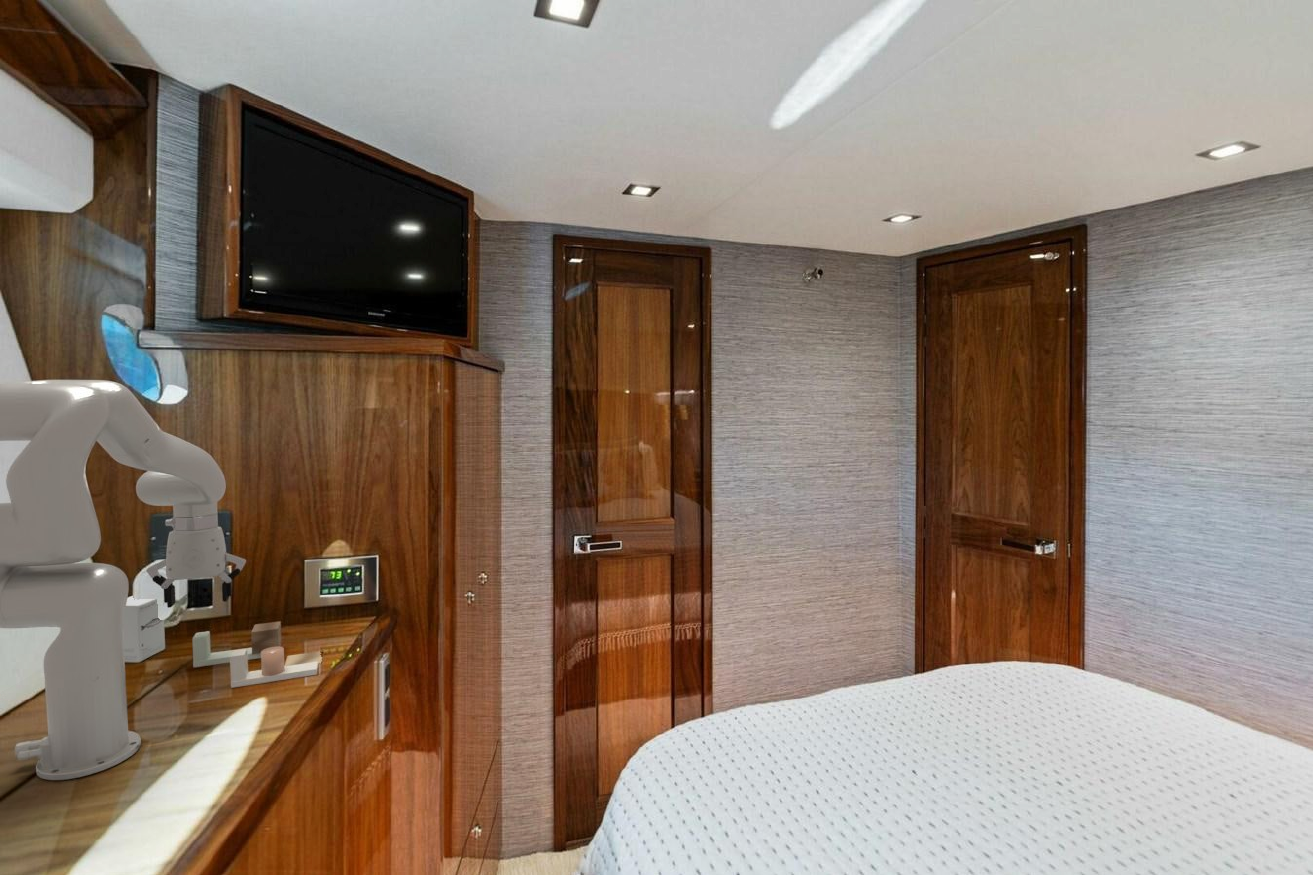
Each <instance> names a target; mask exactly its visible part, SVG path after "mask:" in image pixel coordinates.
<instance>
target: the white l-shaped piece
mask: <svg viewBox="0 0 1313 875" xmlns="http://www.w3.org/2000/svg"><path fill="white" fill-rule="evenodd" d="M191 640H192V658H193V660H192V661H193V662H192V663H193V665H192V667H193V668H201V667H205V666H207V667H208V666H213V665H221V664H230V656H231V654H232V652H233V650H234V649H231V650H225V651H217V652H216V651H215V652H211V649H212V648H211V632H210V630H207V631H201V632H200V631H199V632H198V631H197V632H195V634H194V635H193V637H192V639H191ZM238 649H239V648H237V649H236V650H238ZM244 649H246V648H244ZM247 654H248V661H250V660H256V659H261V654H253V655H252V647H247Z"/></svg>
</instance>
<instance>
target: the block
mask: <svg viewBox="0 0 1313 875" xmlns="http://www.w3.org/2000/svg"><path fill="white" fill-rule="evenodd" d="M281 623H282V622H281V621H272V622H265V623H257V624H256V623H255V624H254V625H253V627H252V630H251V636H250V637H251V648H252V655H253V654H261V651H262V650H264V649H266V648H270V647H276V646H280V647H282V624H281Z"/></svg>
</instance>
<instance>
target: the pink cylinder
mask: <svg viewBox="0 0 1313 875" xmlns="http://www.w3.org/2000/svg"><path fill="white" fill-rule="evenodd" d="M260 662H261V663H260V664H261V665H260V666H261V669H260V670H262V675H263V676H273V675H277V674H280V673H282V672H283V671H284V666H285V648H284V647H283V646H276V647H270V648H266V649H264V650H262V651H261V658H260Z"/></svg>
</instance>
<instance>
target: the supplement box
mask: <svg viewBox="0 0 1313 875" xmlns="http://www.w3.org/2000/svg"><path fill="white" fill-rule="evenodd" d="M133 596H134V595H131V596H128V598H127V603H126V608H125V615H124V628H123V642H124V661H125V663H141V662H142V661H145V660H146V659H147V658H151V657H152V656H153V655H156V654H158V653H160V652H162V651H164V650H166V638H165V637H166V635H165V634H166V633H165V632H166V631H165V619H164V620H160V619H159V618H158V604H157V599H139V600H137V599H135V600H134V598H133Z"/></svg>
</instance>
